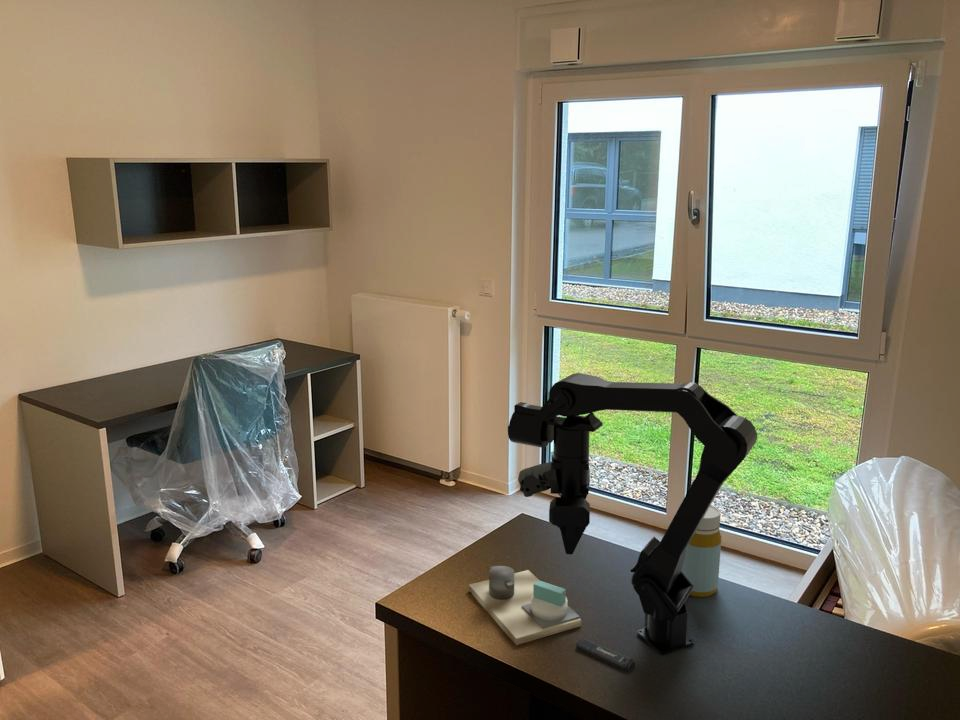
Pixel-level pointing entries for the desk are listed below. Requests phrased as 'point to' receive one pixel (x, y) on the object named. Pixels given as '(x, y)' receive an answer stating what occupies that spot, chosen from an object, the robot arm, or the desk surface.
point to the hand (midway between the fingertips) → (569, 540)
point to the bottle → (704, 555)
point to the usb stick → (605, 654)
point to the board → (517, 605)
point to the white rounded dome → (548, 601)
